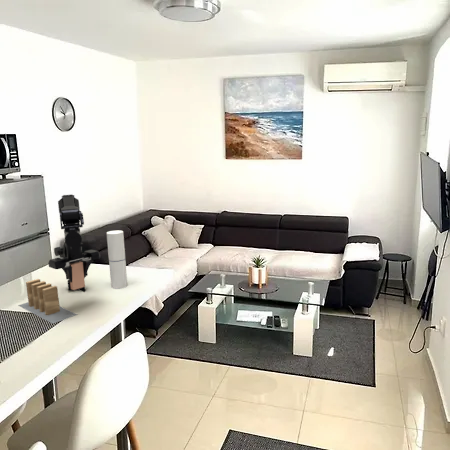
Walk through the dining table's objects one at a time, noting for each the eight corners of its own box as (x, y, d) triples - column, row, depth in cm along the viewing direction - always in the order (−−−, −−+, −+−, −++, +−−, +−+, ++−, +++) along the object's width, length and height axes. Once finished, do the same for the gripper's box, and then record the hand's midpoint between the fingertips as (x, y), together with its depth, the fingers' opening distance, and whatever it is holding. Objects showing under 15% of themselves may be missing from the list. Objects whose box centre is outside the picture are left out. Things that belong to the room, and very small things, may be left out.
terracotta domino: (70, 289, 168) (68, 264, 166) (82, 285, 172) (80, 261, 170) (73, 290, 167) (70, 265, 165) (85, 286, 171) (82, 262, 169)
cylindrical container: (113, 289, 193) (108, 234, 188) (109, 285, 199) (104, 231, 194) (129, 286, 196) (125, 232, 191) (125, 282, 203) (120, 229, 197)
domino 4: (45, 314, 167) (42, 289, 165) (57, 310, 170) (54, 285, 168) (47, 315, 165) (44, 290, 163) (59, 311, 169) (57, 286, 167)
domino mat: (18, 307, 176) (18, 305, 176) (42, 299, 184) (42, 297, 184) (52, 325, 158) (52, 323, 158) (77, 316, 166) (77, 314, 165)
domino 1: (28, 305, 175) (25, 282, 173) (40, 302, 179) (38, 278, 177) (31, 306, 174) (27, 283, 172) (43, 303, 178) (40, 279, 176)
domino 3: (39, 311, 170) (36, 286, 167) (51, 307, 173) (49, 283, 171) (41, 312, 168) (38, 287, 166) (54, 308, 172) (51, 284, 170)
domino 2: (34, 308, 172) (31, 284, 170) (46, 304, 176) (43, 281, 174) (36, 309, 171) (33, 285, 169) (48, 305, 175) (45, 281, 173)
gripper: (83, 233, 178) (87, 270, 181) (39, 243, 164) (43, 282, 167) (99, 237, 171) (102, 275, 174) (54, 247, 157) (58, 288, 160)
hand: (77, 280), depth 169 cm, fingers closed on terracotta domino, 5 cm apart
